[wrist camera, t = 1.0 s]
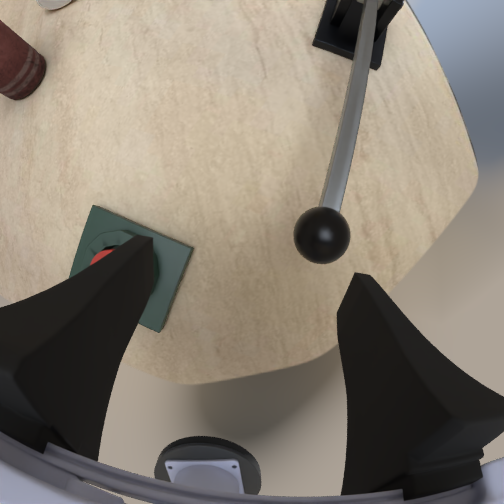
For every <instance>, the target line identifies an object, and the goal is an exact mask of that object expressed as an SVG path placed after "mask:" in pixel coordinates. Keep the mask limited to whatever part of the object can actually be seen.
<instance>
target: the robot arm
mask: <svg viewBox="0 0 504 504" xmlns="http://www.w3.org/2000/svg"><path fill="white" fill-rule="evenodd" d="M153 284H154V266H153V237H148V236H142V235H136V236H134V237H132V238H131V239H129V240H128V241H126V242H125V243H123V244H122V245H120V246H119V247H117V248H116V249H115V250H113V251H112V252H110V253H109V254H107V255H106V256H104V257H103V258H101V259H100V260H98V261H97V262H95V263H93V264H92V265H90V266H89V267H87V268H85V269H84V270H82V271H81V272H79V273H77V274H76V275H74V276H72V277H71V278H69V279H67V280H65V281H63V282H61V283H59V284H57V285H56V286H54V287H52V288H50V289H47V290H45V291H43V292H41V293H38V294H36V295H34V296H31V297H29V298H27V299H24V300H22V301H19V302H16V303H13V304H10V305H7V306H4V307H1V308H0V503H1V504H125V503H124V501H123V499H122V498H121V497H118V496H116V495H113V494H110V493H108V492H105V491H103V490H101V489H98V488H96V487H94V486H91V485H89V484H92V485H95V486H97V487H100V488H103V489H106V490H109V491H112V492H115V493H118V494H121V495H125V496H128V497H131V498H135V499H138V500H142V501H146V502H149V503H153V504H504V457H502V458H499V459H496V460H493V461H490V462H488V463H486V464H483V465H481V466H480V461H479V459H481V458H482V457H483V456H484V453H483V449H482V448H483V447H484V446H485V445H487V444H488V443H490V442H491V441H492V440H494V439H495V438H496V437H498V436H499V435H500V434H501V433H502V432H504V397H503V396H501V395H499V394H498V393H496V392H494V391H493V390H491V389H489V388H487V387H486V386H484V385H482V384H481V383H479V382H478V381H477V380H475V379H473V378H472V377H471V376H469V375H468V374H466V373H465V372H464V371H462V370H461V369H460V368H459V367H457V366H456V365H455V364H454V363H452V362H451V361H450V360H449V359H448V358H447V357H445V356H444V355H443V354H442V353H441V352H440V351H439V350H438V349H437V348H436V347H435V346H433V345H432V344H431V343H430V342H429V341H428V340H427V339H426V338H425V337H424V336H423V335H422V334H421V333H420V331H419V330H417V328H416V327H415V326H414V325H413V324H412V323H411V322H410V321H409V320H408V318H407V317H406V316H405V315H404V314H403V312H402V311H401V310H400V309H399V308H398V307H397V305H396V304H395V303H394V302H393V301H392V299H391V298H390V297H389V296H388V295H387V293H386V292H385V291H384V290H383V289H382V287H381V286H380V285H379V284H378V283H377V282H376V281H375V280H374V278H373V277H372V276H370V275H367V274H361V273H356V272H355V273H354V276H353V278H352V280H351V282H350V285H349V287H348V289H347V292H346V294H345V296H344V298H343V300H342V303H341V305H340V307H339V309H338V311H337V335H338V343H339V349H340V355H341V361H342V366H343V372H344V379H345V385H346V394H347V416H348V417H347V418H348V419H347V420H348V421H347V422H348V423H347V448H346V461H345V471H344V478H343V485H342V491H341V496H323V497H286V496H265V495H251V494H245V492H244V487H243V482H242V477H241V472H240V467H239V462H238V460H237V459H215V460H166V461H165V466H166V469H167V472H168V474H169V477H170V480H171V482H167V481H162V480H158V479H154V478H150V477H146V476H142V475H138V474H135V473H131V472H128V471H125V470H121V469H118V468H115V467H112V466H109V465H106V464H102V463H100V462H97V461H98V456H99V449H100V442H101V436H102V431H103V426H104V421H105V417H106V412H107V407H108V404H109V400H110V396H111V392H112V388H113V385H114V381H115V378H116V375H117V371H118V368H119V365H120V362H121V360H122V357H123V355H124V352H125V350H126V348H127V346H128V344H129V341H130V339H131V337H132V335H133V333H134V331H135V329H136V326H137V324H138V322H139V320H140V318H141V316H142V314H143V312H144V310H145V307H146V305H147V302H148V299H149V296H150V293H151V290H152V287H153ZM233 465H235V466H233ZM169 466H171V467H169ZM85 482H86V483H85ZM87 483H89V484H87Z"/></svg>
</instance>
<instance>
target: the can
mask: <svg viewBox="0 0 504 504" xmlns="http://www.w3.org/2000/svg"><path fill="white" fill-rule="evenodd" d="M44 72H45V60H44V57H43V56H42V55H41V54H39V53H38V52H37V51H36V50H35V49H34V48H32V47H31V46H30V45H29V44H28V43H27V42H25V41H24V40H23V39H22V38H21V37H20V36H18V35H17V34H16V33H15V32H14V31H13V30H11V29H10V28H9V27H8V26H7V25H5V24H4V23H3V22H2V21H1V20H0V93H1V94H3V95H5V96H7V97H8V98H10V99H14V100H17V99H21V98H24V97H26V96H28V95H29V94H30V93H32V92H33V91H34V90H35V89H36V87H37V86H38V85H39V83H40V82H41V80H42V78H43V75H44Z"/></svg>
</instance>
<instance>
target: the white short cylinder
mask: <svg viewBox="0 0 504 504" xmlns="http://www.w3.org/2000/svg"><path fill="white" fill-rule="evenodd" d="M36 1H37V3H38V4H39V6H41V7H43V8H45V9H50V10H53V9H58V8H61V7H63V6H65V5H67V4H68V3H70V2H71V1H72V0H36Z"/></svg>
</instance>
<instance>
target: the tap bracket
mask: <svg viewBox="0 0 504 504" xmlns="http://www.w3.org/2000/svg"><path fill="white" fill-rule="evenodd" d="M403 4H404V0H384V1H383V3H382V5H381V6H380V8H379V10H377V18H376V26H375V33H374V41H373V48H372V55H371V61H370V68H372V69H374V70H377V69H378V68H379V67H380V66H381V61H382V56H383V50H384V44H385V38H386V32H387V26H388V24H389V23H390V22H391V20H392V19H393V18H394V16H395V15H396V14H397V12H398V11H399V10H400V9H401V8H402V6H403ZM362 10H363V4H362V3H360V2H357V1H356V0H327V2H326V5H325V8H324V11H323V14H322V17H321V20H320V23H319V26H318V29H317V32H316V35H315V38H314V41H313V44H312V45H313V46H316V47H319V48H322V49H325V50H327V51H330V52H333V53H335V54H338V55H341V56H343V57H346V58H348V59H351V60H353V58H354V53H355V47H356V42H357V37H358V32H359V26H360V21H361V15H362Z"/></svg>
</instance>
